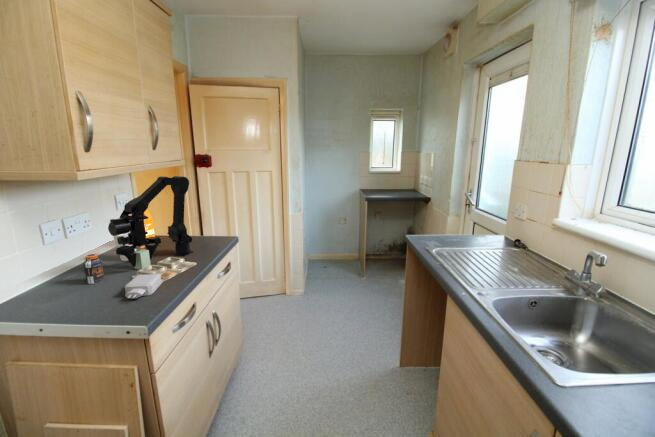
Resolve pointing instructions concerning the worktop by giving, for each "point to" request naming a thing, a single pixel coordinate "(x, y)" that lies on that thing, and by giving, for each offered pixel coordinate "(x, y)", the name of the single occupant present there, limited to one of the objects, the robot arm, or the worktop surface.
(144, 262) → the plug
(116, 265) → the worktop surface
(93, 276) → the pill bottle
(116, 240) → the foam cup
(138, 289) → the charger
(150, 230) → the orange juice
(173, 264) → the socket board
